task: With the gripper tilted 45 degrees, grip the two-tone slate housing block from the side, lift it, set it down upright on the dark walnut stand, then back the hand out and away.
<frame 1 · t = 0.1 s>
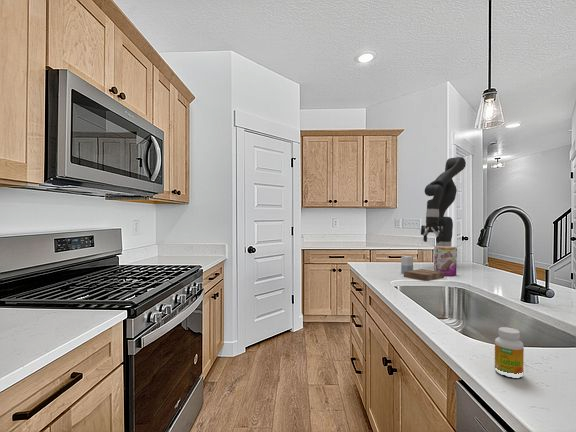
hand: (431, 242, 217), 17 cm above the counter, tool pointing down, fingers open, 8 cm apart
housing block: (407, 273, 205), on the counter
candy bar box: (445, 275, 198), on the counter
walnut stand: (423, 277, 192), on the counter
supplement bottle: (508, 374, 77), on the counter
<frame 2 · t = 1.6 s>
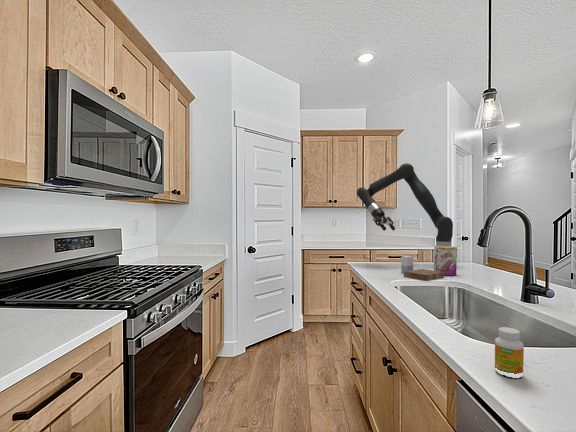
hand: (389, 229, 217), 25 cm above the counter, tool tilted 45°, fingers open, 8 cm apart
nothing on the counter moved.
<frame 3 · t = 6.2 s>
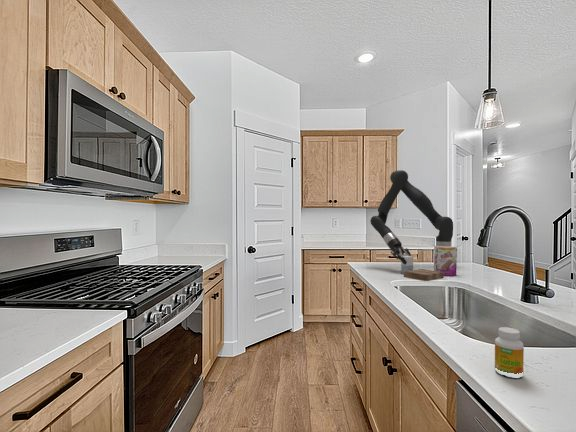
hand: (408, 263, 204), 6 cm above the counter, tool tilted 45°, fingers closed on housing block, 5 cm apart
housing block: (407, 273, 205), on the counter, touching gripper
everything else where it was.
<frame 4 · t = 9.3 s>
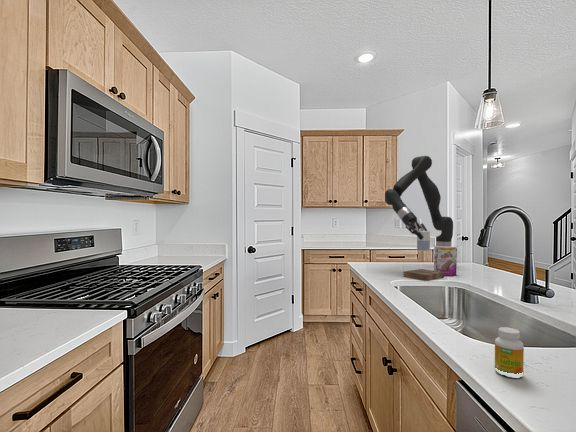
hand: (425, 238, 191), 22 cm above the counter, tool tilted 45°, fingers closed on housing block, 5 cm apart
housing block: (423, 249, 192), point 15 cm above the counter, touching gripper
everything else where it was.
when the fingers open (10 cm above the counter, at t = 12.7 s): housing block stays where it is, resting on walnut stand.
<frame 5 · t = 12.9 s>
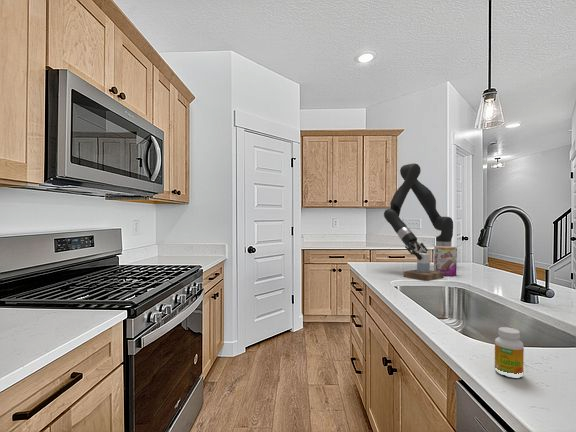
hand: (424, 258, 191), 10 cm above the counter, tool tilted 45°, fingers open, 6 cm apart
housing block: (423, 271, 192), point 3 cm above the counter, touching walnut stand
everything else where it was.
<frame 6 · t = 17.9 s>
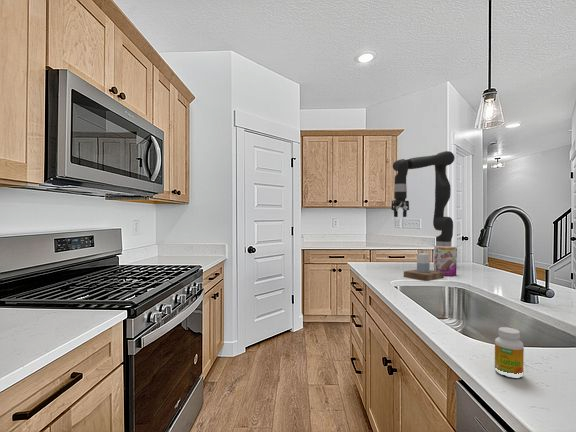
hand: (400, 217, 219), 33 cm above the counter, tool pointing down, fingers open, 8 cm apart
nothing on the counter moved.
at the end: housing block inside the target area on the walnut stand (0.2 cm from its centre), point 3.0 cm above the walnut stand's base; housing block tilted 0°; the gripper is holding nothing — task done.
